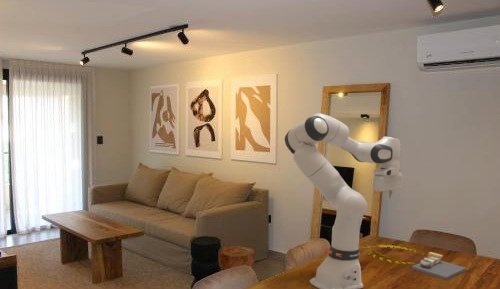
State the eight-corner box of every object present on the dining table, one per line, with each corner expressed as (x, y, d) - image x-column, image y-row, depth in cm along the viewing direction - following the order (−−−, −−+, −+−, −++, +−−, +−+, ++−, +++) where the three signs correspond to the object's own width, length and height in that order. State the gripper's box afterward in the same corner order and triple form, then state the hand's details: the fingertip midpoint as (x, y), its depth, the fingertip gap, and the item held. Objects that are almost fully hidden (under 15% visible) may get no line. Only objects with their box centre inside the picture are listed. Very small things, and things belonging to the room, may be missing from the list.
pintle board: (446, 280, 168) (446, 268, 167) (411, 268, 180) (412, 257, 180) (466, 270, 180) (466, 259, 180) (432, 260, 192) (433, 250, 192)
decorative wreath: (350, 255, 199) (411, 269, 181) (350, 251, 199) (411, 266, 181) (373, 240, 227) (428, 252, 209) (373, 237, 226) (429, 248, 208)
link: (428, 268, 176) (428, 263, 176) (418, 265, 180) (418, 260, 180) (442, 261, 187) (442, 256, 187) (432, 259, 190) (432, 254, 190)
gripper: (395, 168, 193) (393, 196, 194) (371, 170, 180) (369, 200, 181) (407, 170, 188) (405, 198, 189) (383, 172, 175) (381, 202, 176)
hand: (388, 199), depth 185 cm, fingers closed
